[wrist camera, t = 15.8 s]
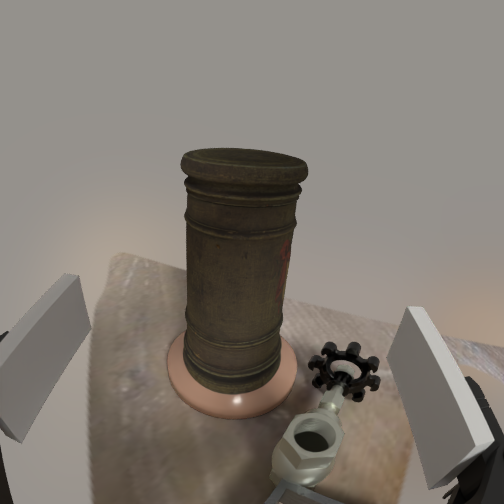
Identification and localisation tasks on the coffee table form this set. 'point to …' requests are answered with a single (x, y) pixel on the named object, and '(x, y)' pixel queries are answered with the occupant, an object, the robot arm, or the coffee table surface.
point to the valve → (322, 418)
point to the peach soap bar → (225, 403)
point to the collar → (297, 495)
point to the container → (237, 263)
